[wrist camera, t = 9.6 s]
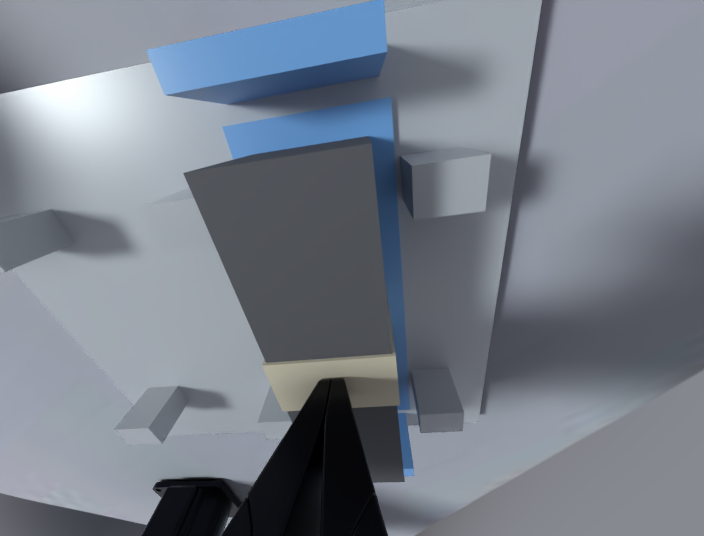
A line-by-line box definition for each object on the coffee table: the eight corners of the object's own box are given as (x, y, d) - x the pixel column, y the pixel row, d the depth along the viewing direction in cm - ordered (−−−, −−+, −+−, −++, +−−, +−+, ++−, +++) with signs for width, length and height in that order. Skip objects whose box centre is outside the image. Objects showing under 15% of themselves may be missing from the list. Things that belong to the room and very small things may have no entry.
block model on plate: (474, 413, 17) (500, 479, 14) (166, 427, 19) (127, 487, 16) (532, -11, 7) (660, -114, 4) (-96, 120, 10) (-321, 117, 6)
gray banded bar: (396, 399, 15) (407, 484, 12) (327, 403, 16) (316, 486, 12) (371, 135, 9) (377, 143, 5) (250, 154, 9) (175, 174, 5)
